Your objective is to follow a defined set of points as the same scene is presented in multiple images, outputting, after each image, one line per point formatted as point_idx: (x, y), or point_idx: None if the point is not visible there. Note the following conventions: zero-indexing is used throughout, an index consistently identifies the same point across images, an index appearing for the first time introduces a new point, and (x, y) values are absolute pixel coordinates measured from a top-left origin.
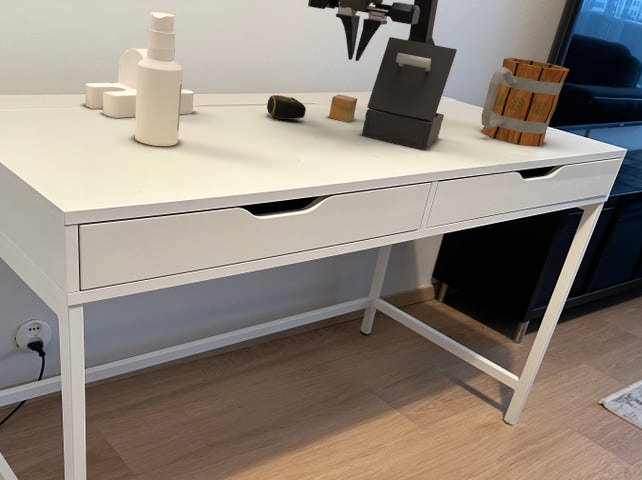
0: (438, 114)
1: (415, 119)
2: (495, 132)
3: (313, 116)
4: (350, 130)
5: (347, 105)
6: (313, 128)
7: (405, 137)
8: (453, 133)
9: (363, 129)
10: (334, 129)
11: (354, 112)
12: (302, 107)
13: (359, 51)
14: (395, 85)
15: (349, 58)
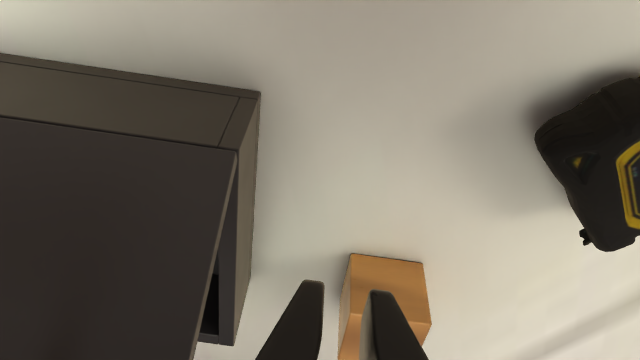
0: None
1: None
2: None
3: (480, 246)
4: (319, 146)
5: (364, 298)
6: (476, 55)
7: (57, 78)
8: None
9: (253, 102)
10: (382, 112)
11: (339, 314)
12: (564, 141)
13: (286, 339)
14: (77, 268)
15: (383, 293)
